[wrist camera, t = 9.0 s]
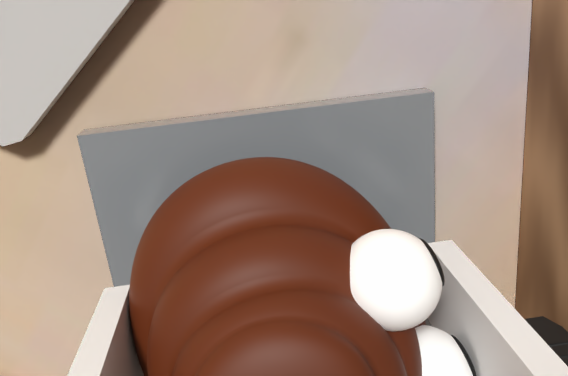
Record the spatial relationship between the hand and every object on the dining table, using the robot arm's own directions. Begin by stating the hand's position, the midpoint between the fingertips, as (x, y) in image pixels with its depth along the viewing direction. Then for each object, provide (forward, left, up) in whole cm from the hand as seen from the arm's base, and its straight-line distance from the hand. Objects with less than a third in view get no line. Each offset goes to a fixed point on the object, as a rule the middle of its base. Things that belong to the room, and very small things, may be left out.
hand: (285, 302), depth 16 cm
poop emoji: (0, 0, -1) cm, 1 cm away
